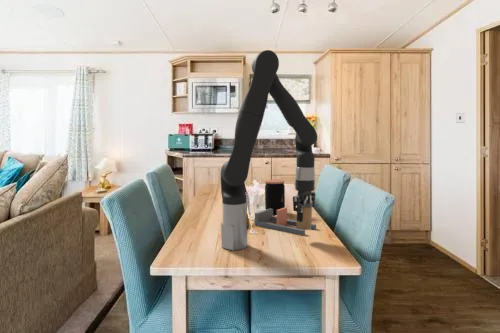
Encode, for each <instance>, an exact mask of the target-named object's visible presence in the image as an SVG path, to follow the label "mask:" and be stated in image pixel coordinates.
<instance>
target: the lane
mask: <svg viewBox="0 0 500 333" xmlns="http://www.w3.org/2000/svg"><path fill="white" fill-rule="evenodd" d="M254 226H256V227H260V228H265V229H271V230H275V231H279V232H280V231H281V232H284V233H289V234H294V235H299V236H304V235H306V230H302V229H298V228H296V220H293V219H288V218H287V225H284V226H283V225H278V224H277V217H275V216H274V215H273V209H271V208H269V209H266V210H265V209H264V210H260V211H258V212H257V211H256V212H254ZM310 230H312V231H315V230H317V224H315V223H311V229H310Z"/></svg>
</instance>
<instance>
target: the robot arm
mask: <svg viewBox="0 0 500 333" xmlns="http://www.w3.org/2000/svg"><path fill="white" fill-rule="evenodd" d="M279 66H280V61H279V57H278V54H276V53H275V52H274V51H273V50H270V49H266V50H262V51H261V52H259V53H258V54H257V55H256V56H255V57H254V59H253V61H252V63H251V70H252V78H251V82H250V85H249V88H248V91H247V92H246V95H245V96H244V99H243V101H242V103H241V106H240V108H239V112H238V114H237V118H236V121H235V122H236V123H235V128H234V139H233V141H234V142H233V147H232V151H231V154H230V155H229V156H230V157H229V160H228V161H226V162H224V163H223V164H222V166H221V169H220V193H221V198H222V223H220V230H221V232H220V233H221V237H220V238H221V248H222V249H226V250H229V251H238V250H243V249H246V248H247V247H248V220H247V219H248V216H247V215H248V214H247V211H248V210H247V208H248V207H247V194H246V190H245V182H246V181H247V179H248V175H249V171H250V170H249V169H250V164H251V160H252V154H253V150H254V147H255V145H256V142H257V140H258V135H259V132H260V129H261V126H262V123H263V119H264V115H265V112H266V108H267V102H268V98H269V95H270V96H271V98H272V100H273V101H274V102H275V104H276V106H277V108H278V109H279V111H280V113H281V114H282V116H283V118H284V120H285V121H286V123H287V124H288V126H290V127H291V128H292V129H293V130H294V132H295V138H294V144H295V152H296V168H295V179H294V180H295V183H294V184H295V186H294V188H295V189H294V190H296V191H297V194H296V196H295V195H293V197H292V206H293V207H292V210H293V212H296V216H297V221H298V222H302V221H303V213H302V212H303V207H305V205H306V203H312V208H314V207H315V202H316V196H317V195H316V192H314V190H315V180H316V177H315V176H316V173H315V161H316V160H315V159H316V157H315V154H314V152H313V148H312V147H313V145H315V144H316V143H317V141H318V132H317V130H316V129H315V127H314V125H312V123H311V122H310V120H309V119H308V118H307V117H306V116H305V114H304V112H303V110H302V109H301V107H300V106H299V103H298V101H297V100H296V99H295V98H294V97H293V96H292V94H291V93H290V92H289V91H288V90H287V88H286V87H285V86H284V85H283V84H282V82H281V80H280V78H279V76H278V74H277V72H278V70H279ZM300 206H301V209H300Z"/></svg>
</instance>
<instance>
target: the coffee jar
mask: <svg viewBox="0 0 500 333" xmlns="http://www.w3.org/2000/svg"><path fill="white" fill-rule="evenodd" d="M264 183H265V185H264V200H265V201H264V204H265V205H264V207H265V208H264V210H265V209H269V208H271V209H273V216H275V215H277V211H276V210H278V209H282V208H285V207H286V206H285V204H286V203H285V202H286V201H285V200H286V196H285V194H286V193H285V192H286V188H285V184H284V183H285V180H283V179H267V180H264Z"/></svg>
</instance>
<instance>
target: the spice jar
mask: <svg viewBox="0 0 500 333" xmlns="http://www.w3.org/2000/svg"><path fill="white" fill-rule="evenodd" d="M300 209H301V206H300ZM302 213H303V221H302V222H298V221H297V215H296V218H295V219H296V220H295V221H296V226H295V228H298V229H302V230H305V231H306V230H308V231H309V230H312V229H311V224H312V216H313V215H312V214H313V207H312V203H306V205H305V207H303V212H302Z"/></svg>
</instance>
